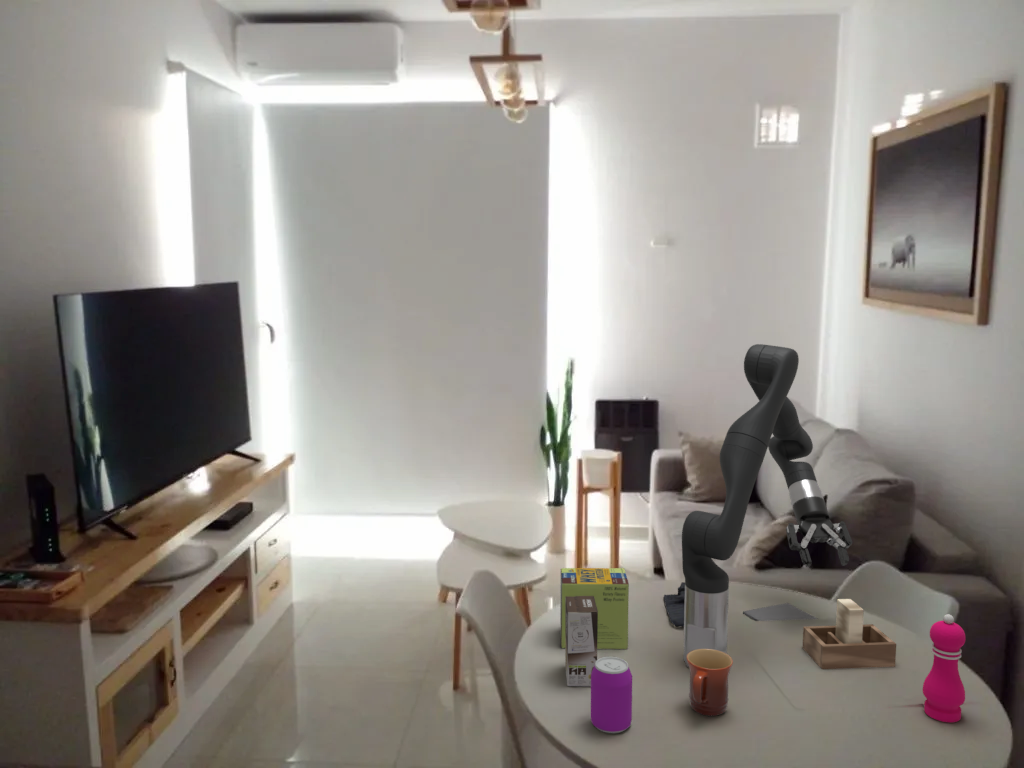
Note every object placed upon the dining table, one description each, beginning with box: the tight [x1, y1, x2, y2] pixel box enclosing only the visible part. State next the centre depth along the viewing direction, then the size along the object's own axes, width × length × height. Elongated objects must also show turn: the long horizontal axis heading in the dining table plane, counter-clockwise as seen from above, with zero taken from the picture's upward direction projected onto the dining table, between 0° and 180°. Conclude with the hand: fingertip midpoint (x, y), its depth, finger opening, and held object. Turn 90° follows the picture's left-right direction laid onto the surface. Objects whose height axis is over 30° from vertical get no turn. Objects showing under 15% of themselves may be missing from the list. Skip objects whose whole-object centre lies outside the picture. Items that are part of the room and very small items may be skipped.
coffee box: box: [564, 596, 598, 687], centre depth 170 cm, size 9×6×16 cm
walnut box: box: [801, 623, 897, 670], centre depth 177 cm, size 10×16×6 cm, turn 94°
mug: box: [686, 649, 734, 717], centre depth 156 cm, size 12×9×10 cm
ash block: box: [835, 598, 864, 644], centre depth 177 cm, size 6×3×12 cm, turn 4°
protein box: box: [559, 567, 630, 650], centre depth 188 cm, size 10×15×16 cm
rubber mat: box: [742, 602, 819, 622], centre depth 197 cm, size 18×14×1 cm
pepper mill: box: [922, 613, 967, 724], centre depth 154 cm, size 7×7×20 cm
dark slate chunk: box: [663, 581, 685, 628], centre depth 203 cm, size 15×22×5 cm
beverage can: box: [590, 656, 633, 734], centre depth 152 cm, size 8×8×12 cm
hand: (827, 564), depth 187 cm, fingers open, 8 cm apart
